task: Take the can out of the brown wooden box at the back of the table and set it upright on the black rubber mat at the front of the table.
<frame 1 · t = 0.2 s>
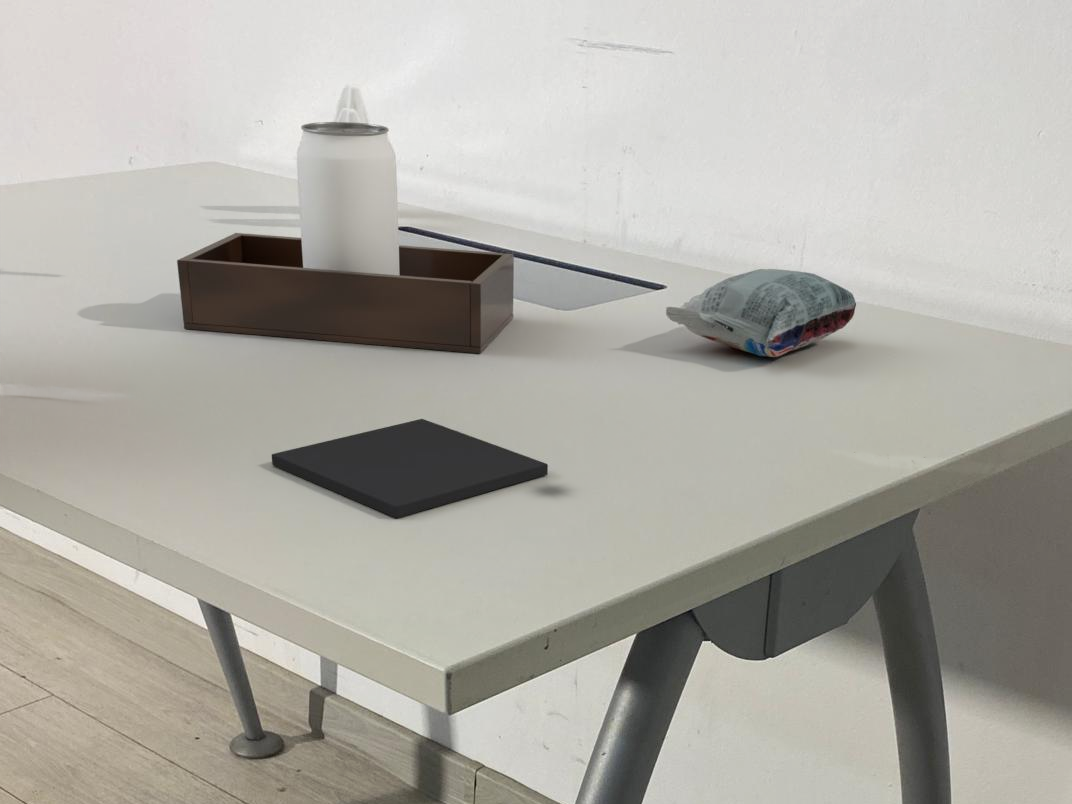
packaged food: (758, 348, 99), on the table
mat: (410, 470, 73), on the table
brown wooden box: (354, 323, 99), on the table
can: (353, 320, 99), resting on brown wooden box
shaker set: (355, 220, 134), on the table
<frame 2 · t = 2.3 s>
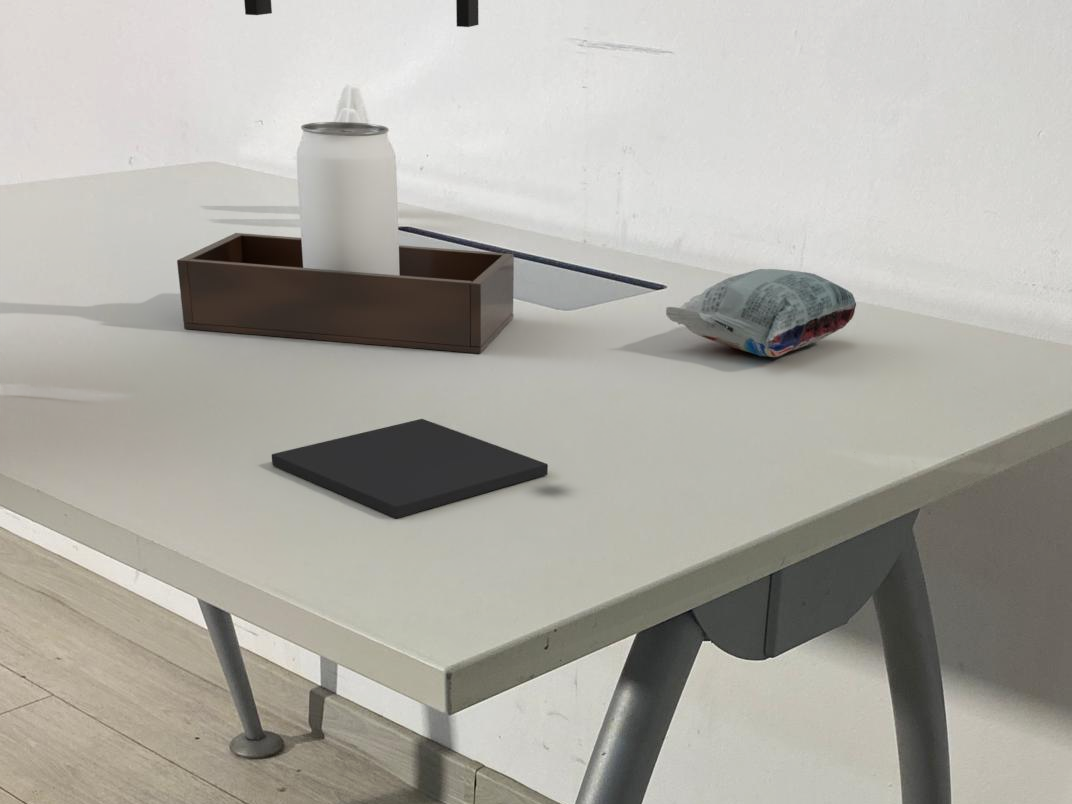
hand: (362, 20, 90), 19 cm above the table, tool pointing down, fingers open, 13 cm apart
nothing on the table moved.
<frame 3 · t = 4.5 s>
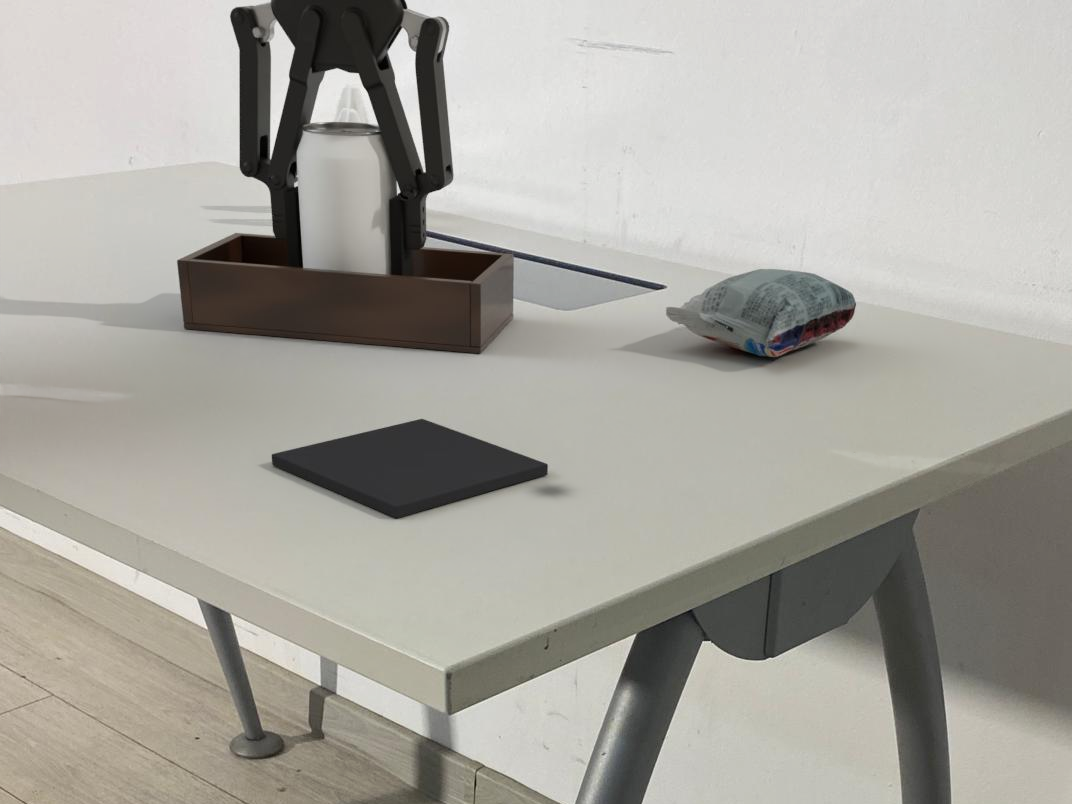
hand: (352, 294, 98), 2 cm above the table, tool pointing down, fingers closed on can, 6 cm apart
can: (353, 320, 99), resting on brown wooden box, touching gripper
everything else where it was.
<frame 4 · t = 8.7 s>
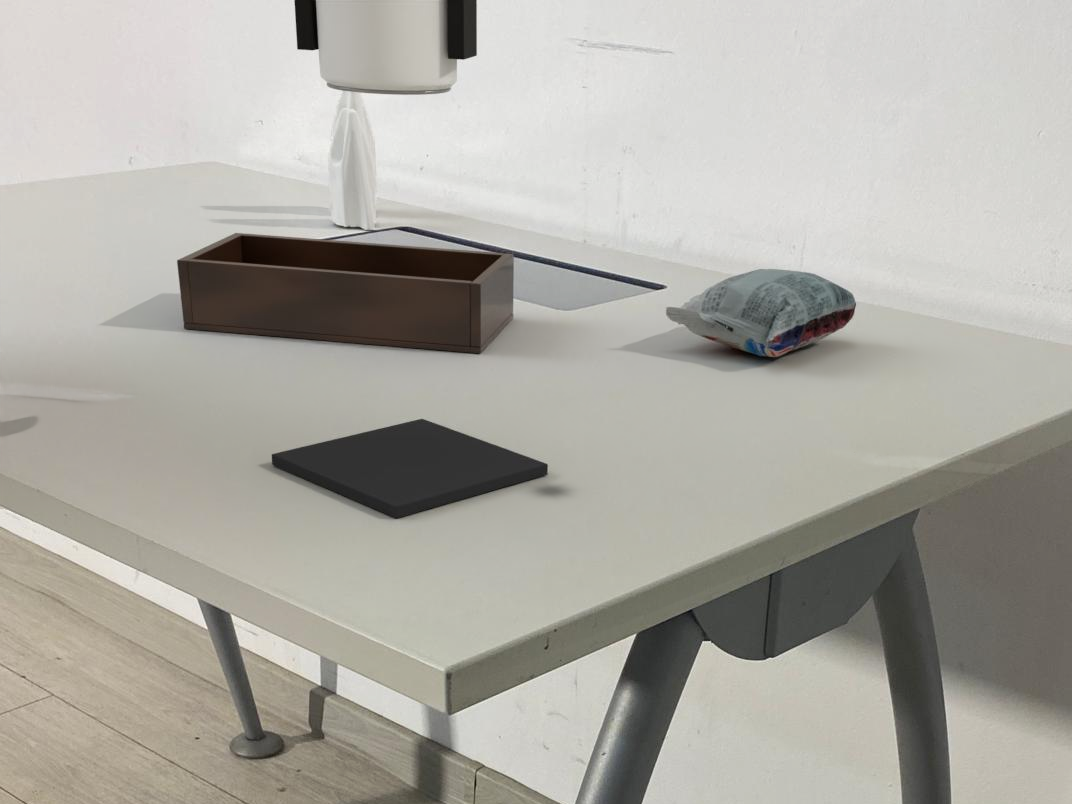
hand: (388, 51, 67), 19 cm above the table, tool pointing down, fingers closed on can, 6 cm apart
can: (389, 92, 68), point 17 cm above the table, touching gripper
everything else where it was.
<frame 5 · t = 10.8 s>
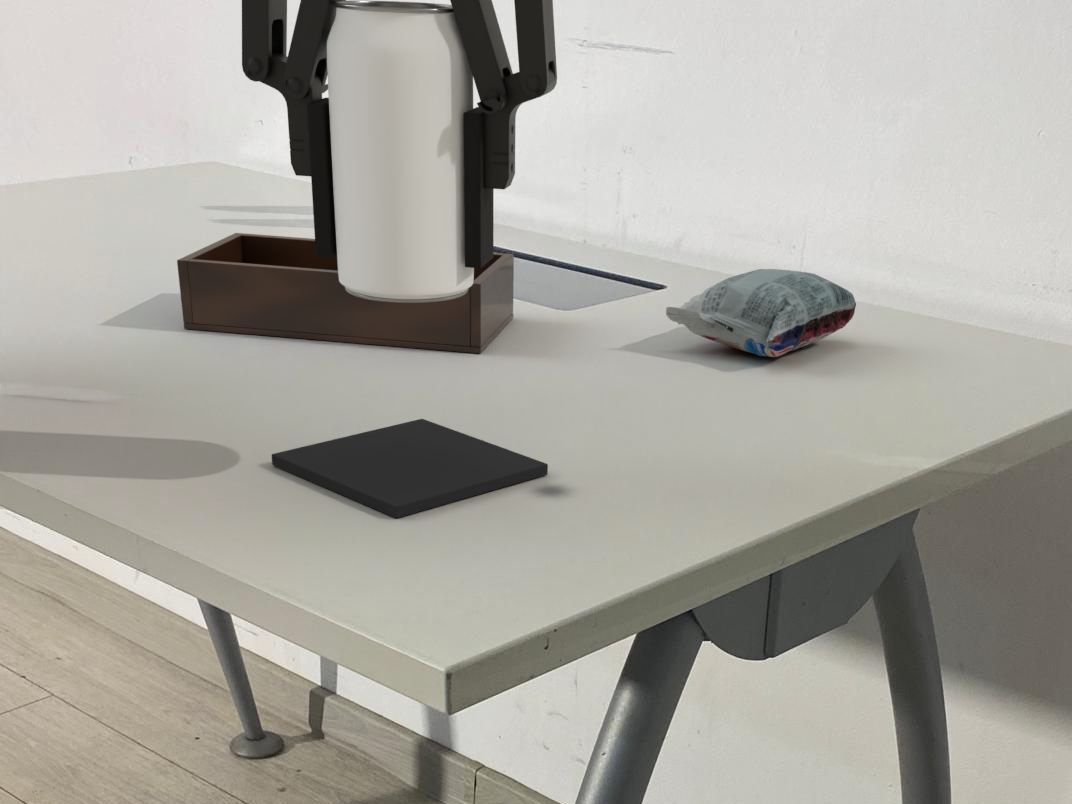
hand: (405, 255, 68), 10 cm above the table, tool pointing down, fingers closed on can, 6 cm apart
can: (406, 293, 69), point 9 cm above the table, touching gripper
everything else where it was.
when the fingers open (2 cm above the table, at t = 13.0 s): can stays where it is, resting on mat.
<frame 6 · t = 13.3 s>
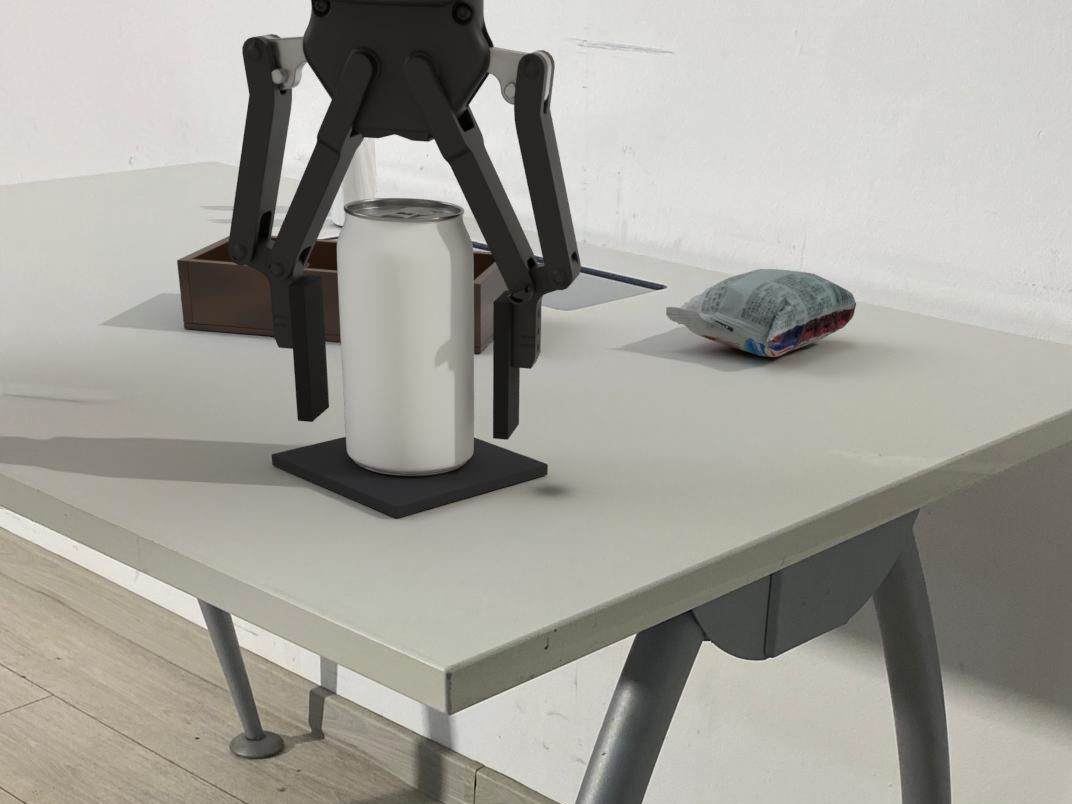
hand: (409, 422, 72), 2 cm above the table, tool pointing down, fingers open, 9 cm apart
can: (410, 462, 73), resting on mat
everything else where it was.
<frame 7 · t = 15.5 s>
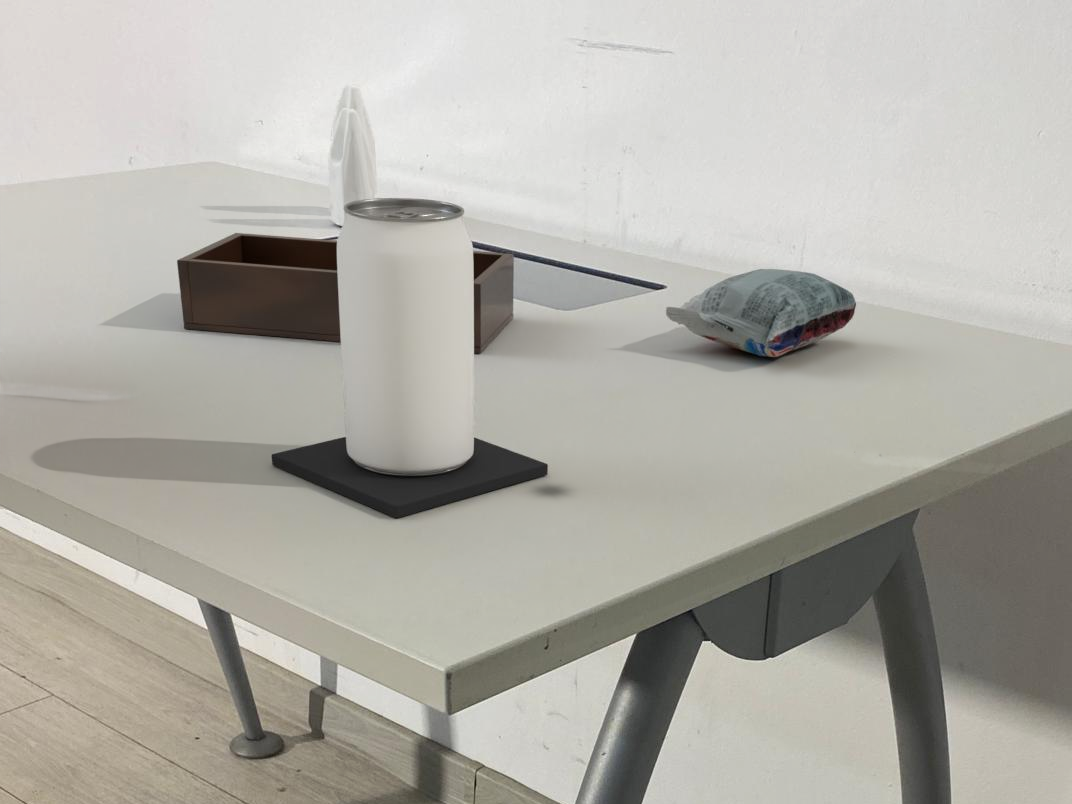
nothing on the table moved.
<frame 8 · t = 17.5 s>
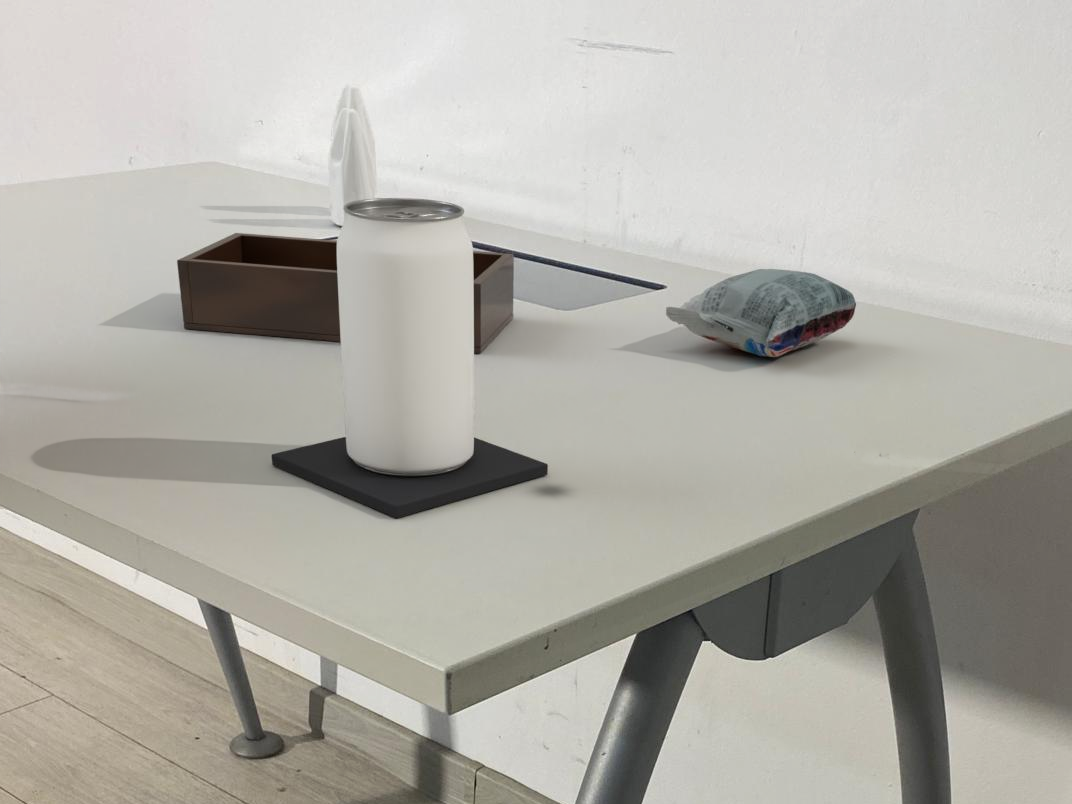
nothing on the table moved.
at the end: can inside the target area on the mat (0.0 cm from its centre), point 0.4 cm above the mat's base; can tilted 0° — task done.
